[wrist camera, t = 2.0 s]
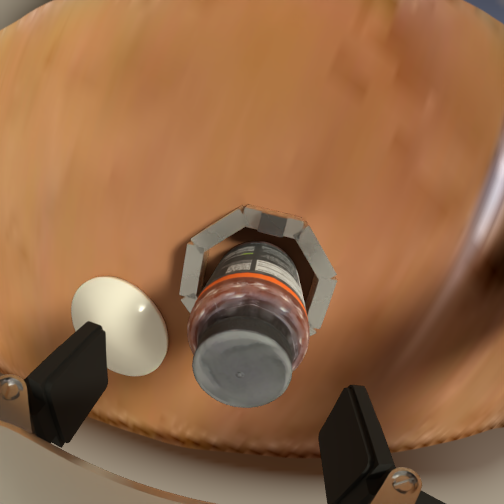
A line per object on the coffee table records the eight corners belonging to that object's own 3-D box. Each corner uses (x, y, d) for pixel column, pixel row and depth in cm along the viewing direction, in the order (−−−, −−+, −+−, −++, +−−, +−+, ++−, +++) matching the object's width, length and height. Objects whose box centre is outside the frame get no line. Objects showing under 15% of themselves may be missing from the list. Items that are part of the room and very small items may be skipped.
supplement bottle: (254, 328, 23) (236, 440, 12) (201, 273, 22) (138, 360, 11) (315, 282, 21) (345, 381, 11) (261, 221, 21) (243, 274, 10)
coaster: (174, 294, 23) (172, 297, 22) (164, 385, 25) (162, 389, 25) (74, 262, 23) (70, 264, 22) (78, 351, 25) (75, 354, 25)
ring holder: (344, 228, 20) (353, 236, 18) (304, 349, 23) (306, 368, 20) (203, 194, 20) (193, 197, 18) (181, 320, 23) (171, 336, 21)
